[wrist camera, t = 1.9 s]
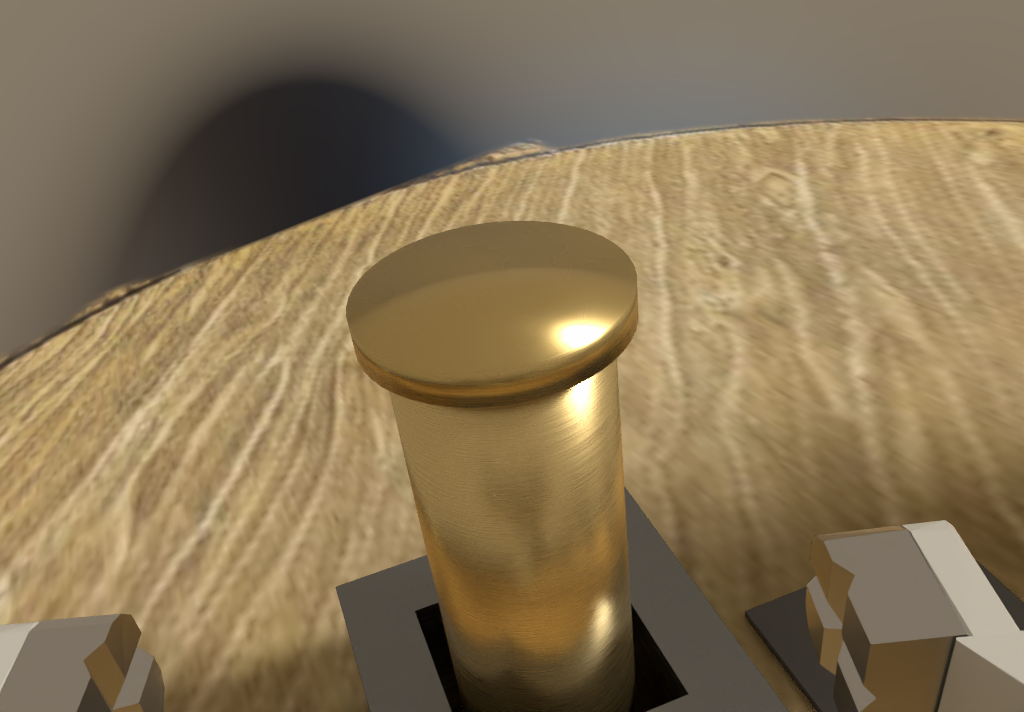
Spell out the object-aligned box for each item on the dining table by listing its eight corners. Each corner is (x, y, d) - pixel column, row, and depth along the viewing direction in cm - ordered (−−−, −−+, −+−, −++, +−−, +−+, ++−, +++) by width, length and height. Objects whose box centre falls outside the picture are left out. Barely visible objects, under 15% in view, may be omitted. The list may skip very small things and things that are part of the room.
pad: (943, 537, 40) (944, 532, 40) (1148, 721, 32) (1150, 716, 32) (745, 616, 38) (745, 611, 38) (912, 835, 30) (913, 831, 30)
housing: (630, 588, 40) (624, 486, 37) (789, 835, 30) (801, 728, 27) (367, 687, 37) (335, 586, 34) (454, 992, 28) (420, 894, 24)
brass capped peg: (604, 647, 38) (566, 199, 26) (693, 801, 32) (692, 313, 21) (437, 712, 36) (321, 263, 25) (499, 888, 30) (384, 407, 19)
